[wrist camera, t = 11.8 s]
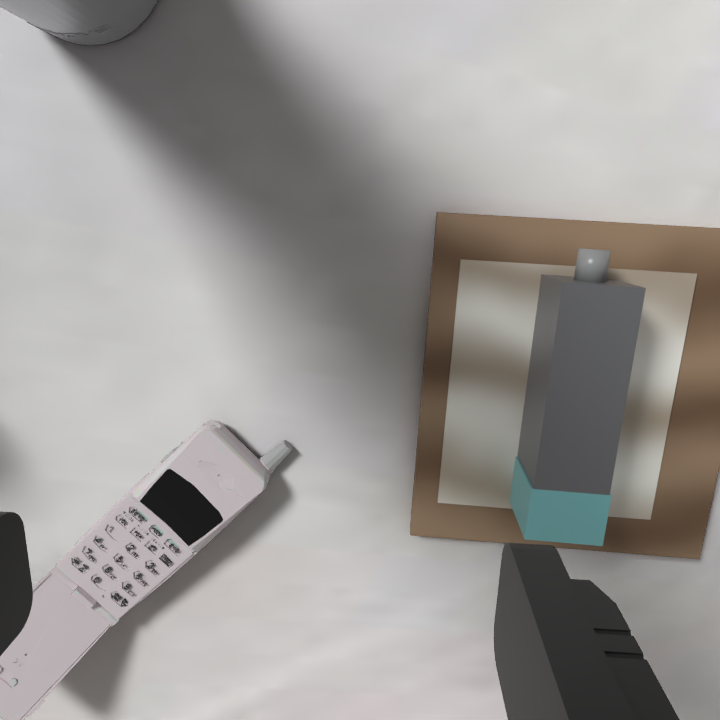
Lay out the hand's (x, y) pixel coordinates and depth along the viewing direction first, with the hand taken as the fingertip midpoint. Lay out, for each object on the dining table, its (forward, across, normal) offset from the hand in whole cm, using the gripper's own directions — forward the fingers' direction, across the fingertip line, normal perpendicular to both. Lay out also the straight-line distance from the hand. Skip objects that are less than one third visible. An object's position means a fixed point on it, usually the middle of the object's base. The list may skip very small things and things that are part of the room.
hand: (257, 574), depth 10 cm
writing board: (+26, -13, +5) cm, 30 cm away
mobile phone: (+27, +14, +17) cm, 34 cm away
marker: (+25, -12, +5) cm, 28 cm away
